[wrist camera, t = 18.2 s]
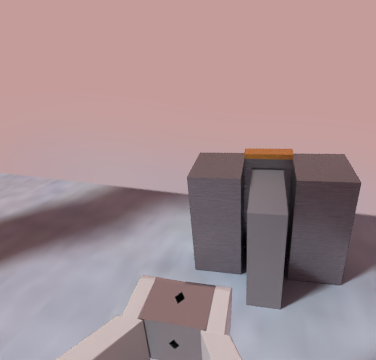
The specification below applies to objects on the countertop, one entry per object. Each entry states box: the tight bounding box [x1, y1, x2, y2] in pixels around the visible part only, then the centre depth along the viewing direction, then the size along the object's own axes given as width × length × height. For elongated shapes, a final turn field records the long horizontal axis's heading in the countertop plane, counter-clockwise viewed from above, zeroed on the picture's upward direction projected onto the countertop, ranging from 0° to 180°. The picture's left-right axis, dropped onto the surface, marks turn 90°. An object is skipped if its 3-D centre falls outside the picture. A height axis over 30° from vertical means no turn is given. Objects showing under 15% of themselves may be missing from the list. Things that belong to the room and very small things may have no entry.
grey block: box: [246, 169, 288, 309], centre depth 28 cm, size 3×8×10 cm, turn 167°
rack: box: [187, 149, 361, 285], centre depth 30 cm, size 14×6×12 cm, turn 77°
